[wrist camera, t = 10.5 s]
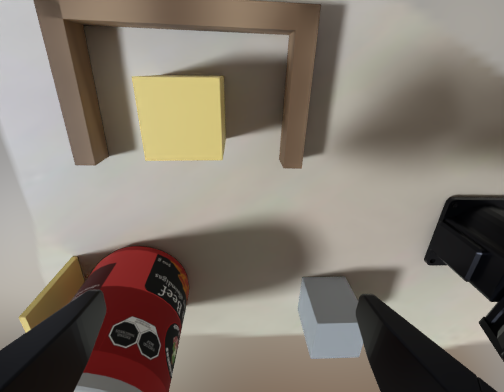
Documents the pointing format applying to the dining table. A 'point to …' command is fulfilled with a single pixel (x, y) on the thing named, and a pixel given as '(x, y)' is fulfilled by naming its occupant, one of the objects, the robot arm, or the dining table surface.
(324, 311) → the grey block
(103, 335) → the canned food
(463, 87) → the dining table surface
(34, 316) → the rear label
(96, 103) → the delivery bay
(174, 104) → the ochre block
